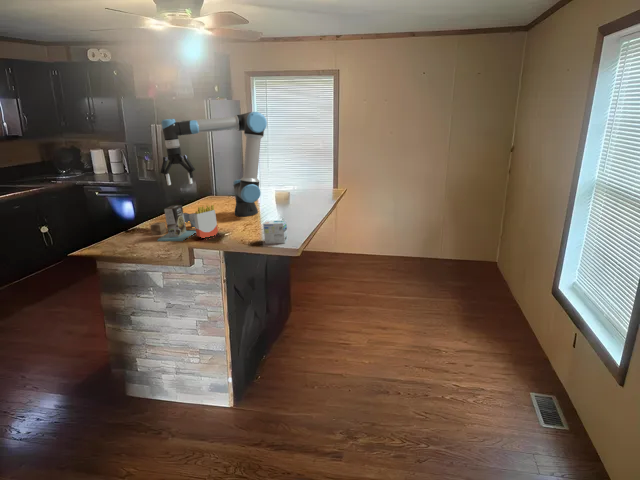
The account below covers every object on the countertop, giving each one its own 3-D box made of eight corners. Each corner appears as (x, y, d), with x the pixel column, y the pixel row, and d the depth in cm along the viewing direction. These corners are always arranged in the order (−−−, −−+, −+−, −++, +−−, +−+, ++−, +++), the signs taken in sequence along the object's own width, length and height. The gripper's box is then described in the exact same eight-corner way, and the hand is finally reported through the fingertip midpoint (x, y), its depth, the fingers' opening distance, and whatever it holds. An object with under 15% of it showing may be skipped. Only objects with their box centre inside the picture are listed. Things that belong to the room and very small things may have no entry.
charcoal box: (191, 221, 279) (190, 214, 277) (179, 224, 274) (178, 216, 272) (187, 220, 283) (185, 212, 282) (175, 223, 278) (174, 215, 276)
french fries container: (196, 239, 238) (191, 207, 233) (214, 234, 245) (209, 203, 240) (201, 240, 235) (195, 208, 229) (218, 235, 242) (214, 204, 236)
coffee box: (179, 237, 240) (174, 208, 236) (168, 237, 242) (163, 208, 237) (187, 232, 249) (182, 204, 244) (176, 232, 250) (172, 205, 245)
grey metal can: (203, 225, 266) (201, 212, 264) (198, 228, 261) (196, 215, 258) (194, 225, 267) (191, 213, 265) (189, 228, 262) (187, 215, 259)
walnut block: (166, 232, 258) (164, 222, 256) (161, 235, 252) (159, 225, 250) (157, 232, 259) (155, 222, 257) (152, 235, 253) (150, 225, 251)
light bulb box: (288, 239, 226) (286, 219, 223) (285, 243, 220) (283, 223, 216) (268, 240, 228) (266, 220, 224) (264, 244, 221) (262, 223, 218)
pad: (197, 232, 251) (197, 230, 251) (184, 241, 236) (183, 239, 236) (172, 232, 255) (172, 230, 254) (157, 241, 240) (157, 239, 239)
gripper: (149, 149, 245) (157, 187, 252) (190, 146, 241) (197, 184, 247) (156, 148, 252) (163, 184, 259) (196, 144, 248) (203, 181, 254)
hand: (180, 184), depth 253 cm, fingers open, 13 cm apart
